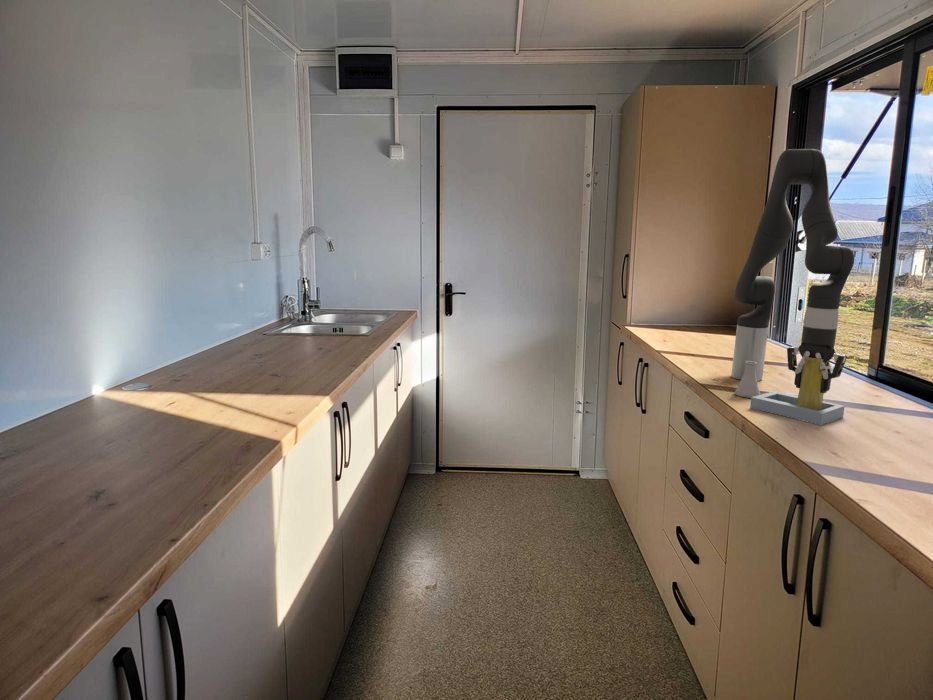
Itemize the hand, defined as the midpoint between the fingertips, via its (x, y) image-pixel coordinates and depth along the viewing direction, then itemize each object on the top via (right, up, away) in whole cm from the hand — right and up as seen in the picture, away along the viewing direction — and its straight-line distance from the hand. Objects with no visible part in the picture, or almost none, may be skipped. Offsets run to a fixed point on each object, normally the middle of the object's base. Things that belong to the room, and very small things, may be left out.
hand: (811, 389), depth 160 cm
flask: (-8, -3, +20) cm, 21 cm away
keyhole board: (-2, -6, +3) cm, 7 cm away
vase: (0, -6, +1) cm, 6 cm away
